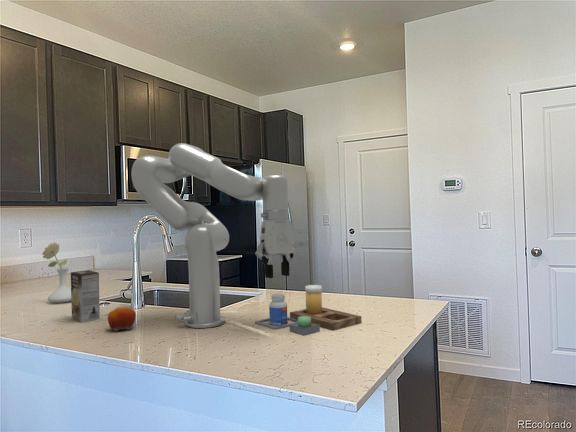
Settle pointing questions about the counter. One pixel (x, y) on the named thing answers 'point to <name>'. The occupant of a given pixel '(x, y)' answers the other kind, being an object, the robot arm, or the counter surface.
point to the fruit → (121, 318)
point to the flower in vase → (63, 291)
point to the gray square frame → (274, 326)
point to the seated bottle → (313, 299)
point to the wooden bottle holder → (329, 318)
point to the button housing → (304, 328)
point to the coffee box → (85, 295)
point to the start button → (304, 321)
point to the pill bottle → (278, 310)
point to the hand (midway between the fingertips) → (277, 276)
